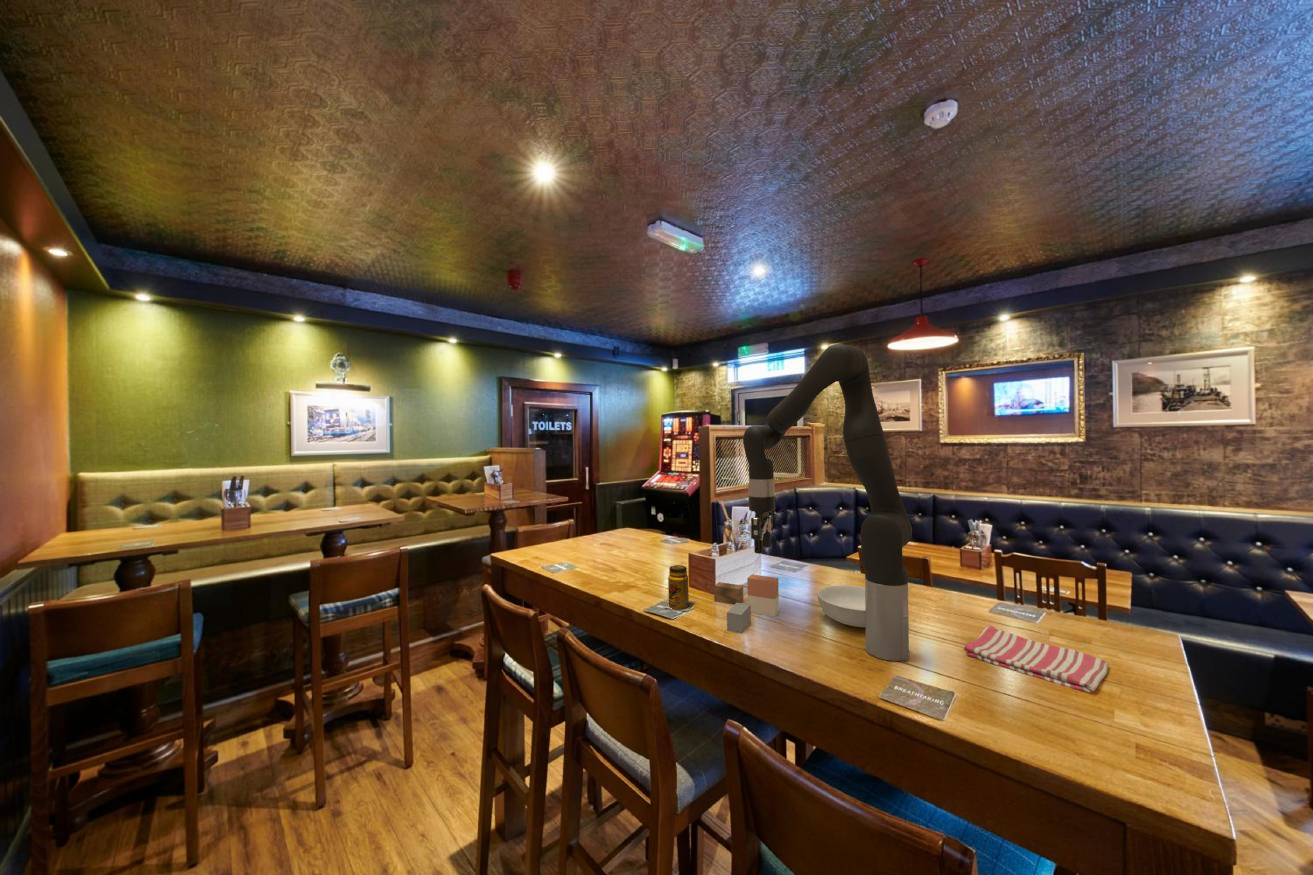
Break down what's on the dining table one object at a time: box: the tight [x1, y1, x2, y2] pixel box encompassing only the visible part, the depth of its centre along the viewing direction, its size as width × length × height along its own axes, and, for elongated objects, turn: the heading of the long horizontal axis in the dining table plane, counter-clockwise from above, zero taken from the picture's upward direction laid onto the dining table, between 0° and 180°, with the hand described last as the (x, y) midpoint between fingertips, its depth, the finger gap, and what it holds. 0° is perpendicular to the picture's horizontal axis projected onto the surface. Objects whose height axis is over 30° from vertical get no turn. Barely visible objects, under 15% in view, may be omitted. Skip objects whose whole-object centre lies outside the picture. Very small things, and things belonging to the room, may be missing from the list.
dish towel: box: [963, 624, 1110, 694], centre depth 108 cm, size 17×23×4 cm
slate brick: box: [726, 602, 752, 634], centre depth 130 cm, size 8×4×5 cm, turn 152°
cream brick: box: [747, 594, 780, 617], centre depth 140 cm, size 8×4×5 cm, turn 62°
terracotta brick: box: [746, 574, 780, 599], centre depth 139 cm, size 8×4×5 cm, turn 61°
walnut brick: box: [713, 581, 744, 606], centre depth 149 cm, size 8×4×5 cm, turn 62°
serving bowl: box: [817, 584, 865, 629], centre depth 132 cm, size 21×21×7 cm
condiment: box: [666, 564, 696, 612], centre depth 146 cm, size 7×8×12 cm
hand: (762, 549), depth 139 cm, fingers open, 8 cm apart
